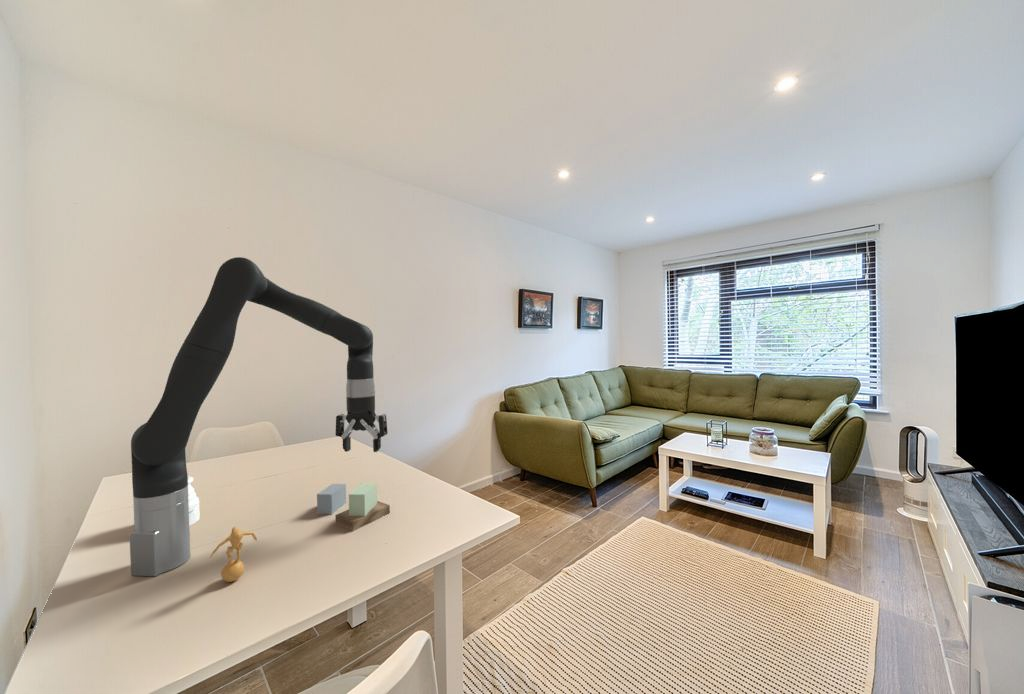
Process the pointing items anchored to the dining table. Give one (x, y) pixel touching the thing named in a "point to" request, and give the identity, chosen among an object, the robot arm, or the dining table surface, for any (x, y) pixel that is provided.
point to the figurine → (233, 567)
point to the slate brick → (331, 499)
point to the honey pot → (193, 503)
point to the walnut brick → (362, 517)
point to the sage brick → (362, 499)
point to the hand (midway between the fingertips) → (362, 451)
